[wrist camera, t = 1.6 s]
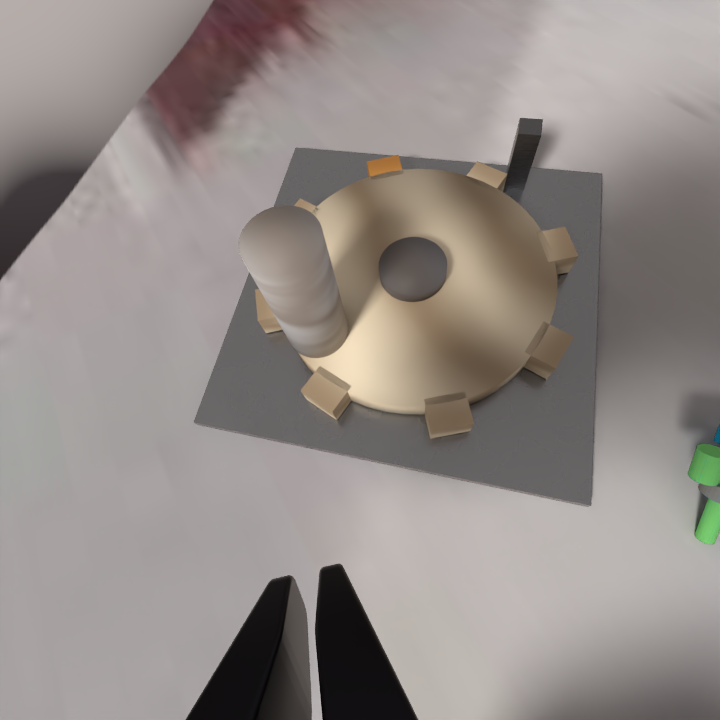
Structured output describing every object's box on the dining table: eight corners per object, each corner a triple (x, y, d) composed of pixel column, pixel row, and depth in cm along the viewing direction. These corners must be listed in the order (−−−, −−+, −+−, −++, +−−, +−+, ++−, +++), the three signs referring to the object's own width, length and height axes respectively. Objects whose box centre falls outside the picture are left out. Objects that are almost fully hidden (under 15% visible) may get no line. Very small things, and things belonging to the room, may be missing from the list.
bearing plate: (587, 506, 21) (630, 495, 17) (197, 424, 24) (154, 398, 20) (599, 179, 28) (631, 116, 24) (297, 153, 32) (280, 93, 28)
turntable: (444, 137, 30) (457, -20, 22) (636, 318, 24) (758, 193, 15) (222, 262, 28) (143, 140, 20) (367, 499, 21) (341, 467, 13)
